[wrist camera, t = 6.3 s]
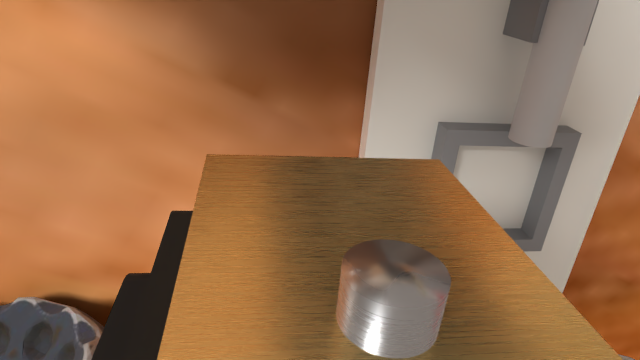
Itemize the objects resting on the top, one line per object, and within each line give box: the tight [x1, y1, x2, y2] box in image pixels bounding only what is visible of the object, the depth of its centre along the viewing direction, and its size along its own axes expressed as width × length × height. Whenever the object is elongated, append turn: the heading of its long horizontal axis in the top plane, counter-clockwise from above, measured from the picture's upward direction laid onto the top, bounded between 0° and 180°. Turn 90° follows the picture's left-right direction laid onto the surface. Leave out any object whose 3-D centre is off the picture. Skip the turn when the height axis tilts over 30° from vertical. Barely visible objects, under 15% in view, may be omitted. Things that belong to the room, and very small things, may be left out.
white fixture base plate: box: [359, 0, 640, 293], centre depth 30 cm, size 28×18×6 cm, turn 176°
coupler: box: [157, 154, 623, 360], centre depth 8 cm, size 6×5×6 cm
